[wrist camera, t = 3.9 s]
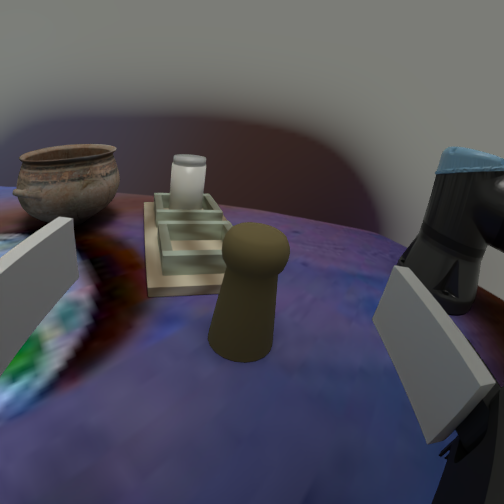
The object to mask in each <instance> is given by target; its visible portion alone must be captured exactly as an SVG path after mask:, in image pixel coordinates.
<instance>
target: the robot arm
mask: <svg viewBox="0 0 504 504" xmlns="http://www.w3.org/2000/svg"><path fill="white" fill-rule="evenodd" d="M435 174H436V178H435V182H434V186H433V189H432V193H431V197H430V200H429V203H428V207H427V210H426V213H425V216H424V220H423V223H422V226H421V228H420V231H419V233H418V235H417V236H416V238H415V239H414V240H413V242H412V243H411V244H410V246H409V247H408V248H407V249H406V251H405V252H404V253H403V255H402V256H401V257H400V259H399V260H398V263H397V266H395V265H394V267H393V270H392V272H391V275H390V278H389V280H388V283H387V285H386V288H385V290H384V293H383V295H382V297H381V300H380V302H379V304H378V307H377V309H376V311H375V314H374V316H373V318H372V321H373V323H374V325H375V327H376V329H377V331H378V333H379V335H380V337H381V339H382V341H383V343H384V345H385V347H386V349H387V351H388V353H389V356H390V358H391V360H392V362H393V364H394V366H395V368H396V371H397V373H398V375H399V377H400V380H401V382H402V384H403V386H404V389H405V391H406V393H407V395H408V398H409V400H410V403H411V405H412V407H413V410H414V412H415V415H416V417H417V419H418V422H419V424H420V427H421V429H422V432H423V435H424V437H425V440H426V442H427V444H432V443H436V442H440V441H443V440H445V439H446V438H447V437H448V436H449V435H450V434H451V433H452V432H453V431H454V430H455V429H456V431H457V433H458V436H457V437H456V438H455V439H454V440H453V441H452V442H451V443H450V444H449V445H448V446H446V447H445V448H444V449H443V450H442V451H441V453H440V454H439V456H440V457H441V456H443V455H444V454H445V453H446V452H447V451H448V450H450V452H449V454H448V455H447V456H446V457H445V459H447V462H446V465H445V468H444V472H443V474H442V477H441V480H440V483H439V486H438V488H437V491H436V494H435V496H434V499H433V501H432V504H504V386H503V387H502V388H501V387H500V385H499V384H498V382H497V381H496V379H495V378H494V376H493V375H492V373H491V372H490V370H489V369H488V367H487V366H486V364H485V363H484V361H483V360H481V357H480V355H479V354H478V353H477V352H475V348H474V347H473V346H472V344H471V343H470V341H469V340H468V339H467V338H466V337H465V336H464V335H463V334H462V333H461V331H460V330H459V329H458V327H457V326H456V325H455V323H454V322H453V321H452V319H451V318H450V317H449V316H448V314H455V315H460V314H464V313H467V312H468V311H469V310H470V308H471V306H472V304H473V302H474V300H475V297H476V292H477V286H478V279H479V272H480V265H481V260H482V258H483V255H484V253H485V250H486V248H487V245H490V246H492V247H494V248H495V249H497V250H499V251H501V252H503V253H504V159H503V158H499V157H498V156H495V155H491V154H488V153H485V152H481V151H477V150H472V149H468V148H462V147H448V148H446V149H445V150H444V151H443V153H442V155H441V159H440V163H439V166H438V169H437V171H436V172H435ZM78 278H79V272H78V265H77V257H76V247H75V237H74V224H73V218H66V217H58V218H56V219H55V220H53V221H51V222H50V223H48V224H47V225H45V226H44V227H42V228H41V229H39V230H38V231H37V232H35V233H34V234H32V235H31V236H29V237H28V238H26V239H25V240H24V241H22V242H21V243H20V244H18V245H17V246H15V247H14V248H13V249H11V250H10V251H9V252H7V253H6V254H5V255H3V256H2V257H1V258H0V376H1V375H2V373H3V372H4V370H5V369H6V368H7V366H8V365H9V363H10V362H11V361H12V359H13V358H14V356H15V355H16V354H17V352H18V351H19V350H20V348H21V347H22V346H23V344H24V343H25V342H26V340H27V339H28V338H29V336H30V335H31V334H32V332H33V331H34V330H35V329H36V327H37V326H38V325H39V324H40V322H41V321H42V320H43V319H44V317H45V316H46V315H47V314H48V313H49V311H50V310H51V309H52V308H53V307H54V305H55V304H56V303H57V302H58V301H59V300H60V298H61V297H62V296H63V295H64V294H65V293H66V292H67V290H68V289H69V288H70V287H71V286H72V285H73V284H74V282H75V281H76V280H77V279H78ZM447 313H448V314H447Z"/></svg>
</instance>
